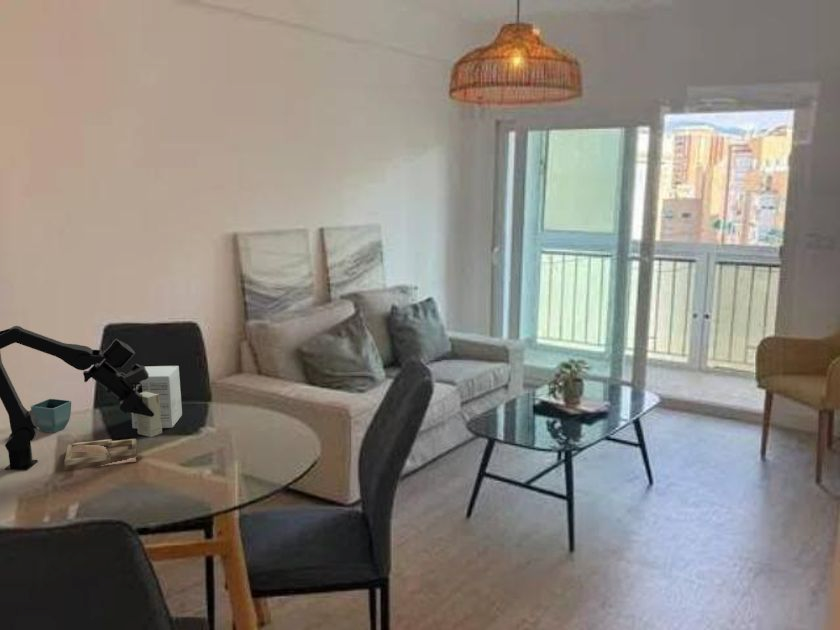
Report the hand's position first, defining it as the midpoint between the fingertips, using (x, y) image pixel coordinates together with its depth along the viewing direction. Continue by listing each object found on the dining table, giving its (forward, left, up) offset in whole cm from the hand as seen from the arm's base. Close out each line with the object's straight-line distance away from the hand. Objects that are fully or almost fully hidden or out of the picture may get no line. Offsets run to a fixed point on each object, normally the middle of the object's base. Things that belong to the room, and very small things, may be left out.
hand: (153, 411), depth 233 cm
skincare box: (0, +1, -7) cm, 7 cm away
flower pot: (+18, +39, -12) cm, 45 cm away
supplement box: (+26, +8, -12) cm, 30 cm away
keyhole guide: (-5, +14, -12) cm, 19 cm away
